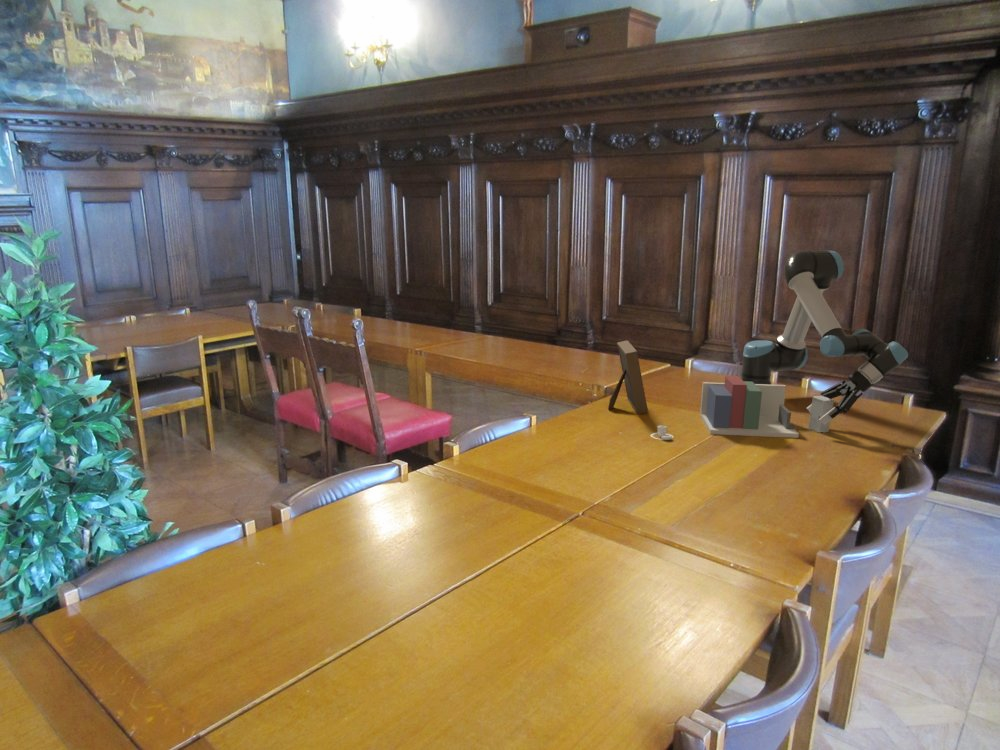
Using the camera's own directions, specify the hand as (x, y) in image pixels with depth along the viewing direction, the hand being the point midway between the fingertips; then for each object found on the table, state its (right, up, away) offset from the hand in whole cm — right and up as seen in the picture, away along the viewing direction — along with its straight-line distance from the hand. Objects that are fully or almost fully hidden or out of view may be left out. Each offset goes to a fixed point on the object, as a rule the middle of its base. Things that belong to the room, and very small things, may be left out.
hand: (815, 416), depth 241 cm
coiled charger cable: (-59, -8, -9) cm, 60 cm away
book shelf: (-23, -4, +4) cm, 24 cm away
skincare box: (+2, -5, +1) cm, 6 cm away
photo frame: (-63, +2, +30) cm, 70 cm away
